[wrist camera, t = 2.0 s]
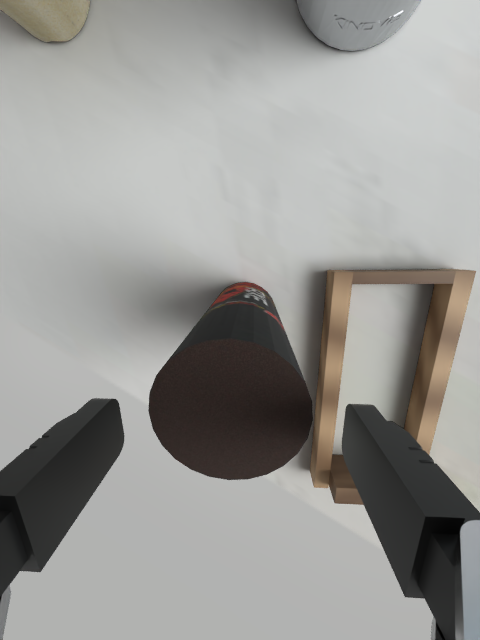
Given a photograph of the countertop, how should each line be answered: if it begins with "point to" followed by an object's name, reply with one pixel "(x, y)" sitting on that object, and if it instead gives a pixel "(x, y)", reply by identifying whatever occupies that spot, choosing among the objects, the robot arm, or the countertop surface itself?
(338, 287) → the wooden frame
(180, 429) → the deodorant
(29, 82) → the countertop surface
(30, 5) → the flower pot
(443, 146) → the countertop surface
